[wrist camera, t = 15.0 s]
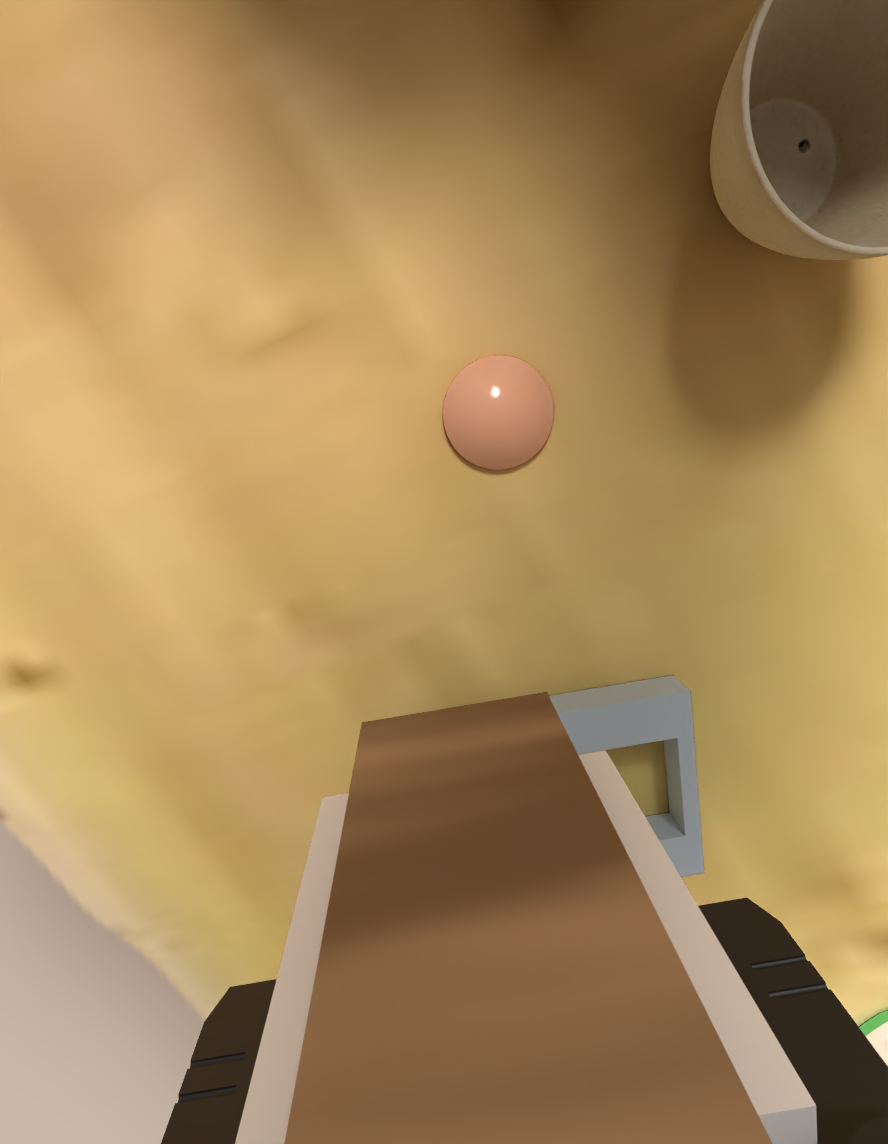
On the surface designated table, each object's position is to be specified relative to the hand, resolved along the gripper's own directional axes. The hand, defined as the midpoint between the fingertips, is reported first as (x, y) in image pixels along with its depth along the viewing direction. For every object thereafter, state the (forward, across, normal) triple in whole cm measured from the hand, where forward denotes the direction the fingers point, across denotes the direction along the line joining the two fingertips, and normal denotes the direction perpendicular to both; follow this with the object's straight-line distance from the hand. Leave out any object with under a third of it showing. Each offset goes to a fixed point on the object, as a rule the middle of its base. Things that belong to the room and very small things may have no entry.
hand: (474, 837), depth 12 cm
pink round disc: (+19, +4, +8) cm, 21 cm away
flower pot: (+19, +17, +16) cm, 30 cm away
